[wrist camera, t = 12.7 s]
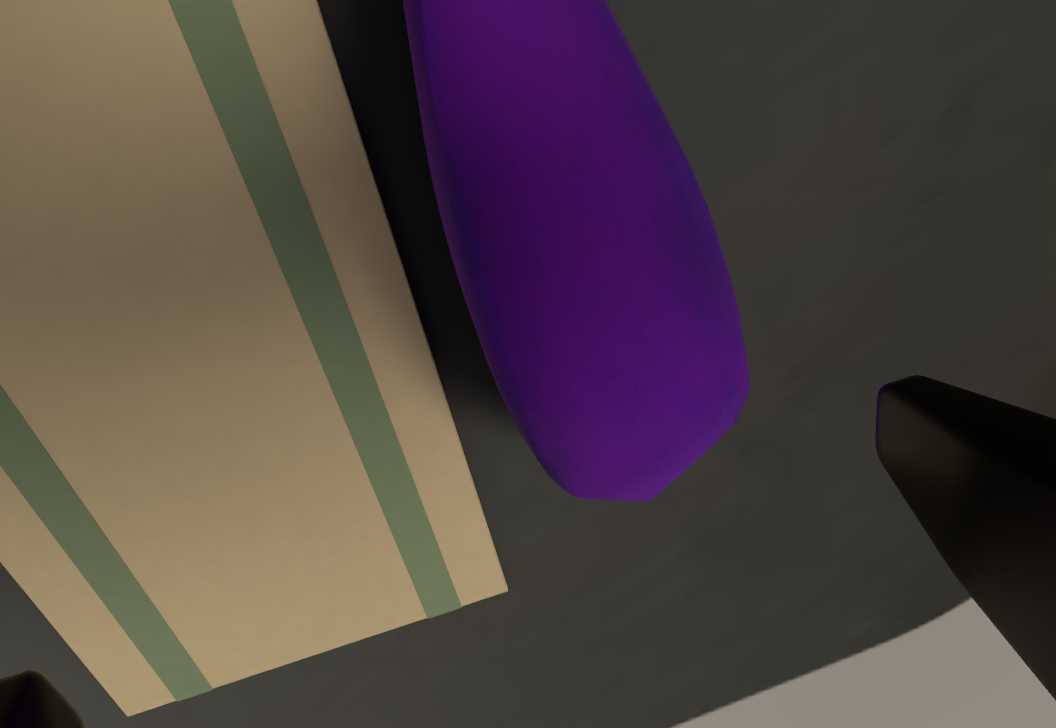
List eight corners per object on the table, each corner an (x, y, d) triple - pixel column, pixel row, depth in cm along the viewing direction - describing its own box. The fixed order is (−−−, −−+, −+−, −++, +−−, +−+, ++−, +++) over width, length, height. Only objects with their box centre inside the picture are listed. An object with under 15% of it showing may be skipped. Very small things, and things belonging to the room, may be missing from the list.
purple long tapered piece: (607, -374, 10) (799, 520, 18) (528, -281, 15) (708, 407, 22) (240, -237, 10) (586, 607, 17) (268, -183, 14) (537, 476, 22)
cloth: (-515, -85, 12) (-533, -83, 12) (232, -261, 13) (230, -263, 13) (128, 708, 23) (126, 718, 23) (506, 583, 24) (508, 592, 24)
